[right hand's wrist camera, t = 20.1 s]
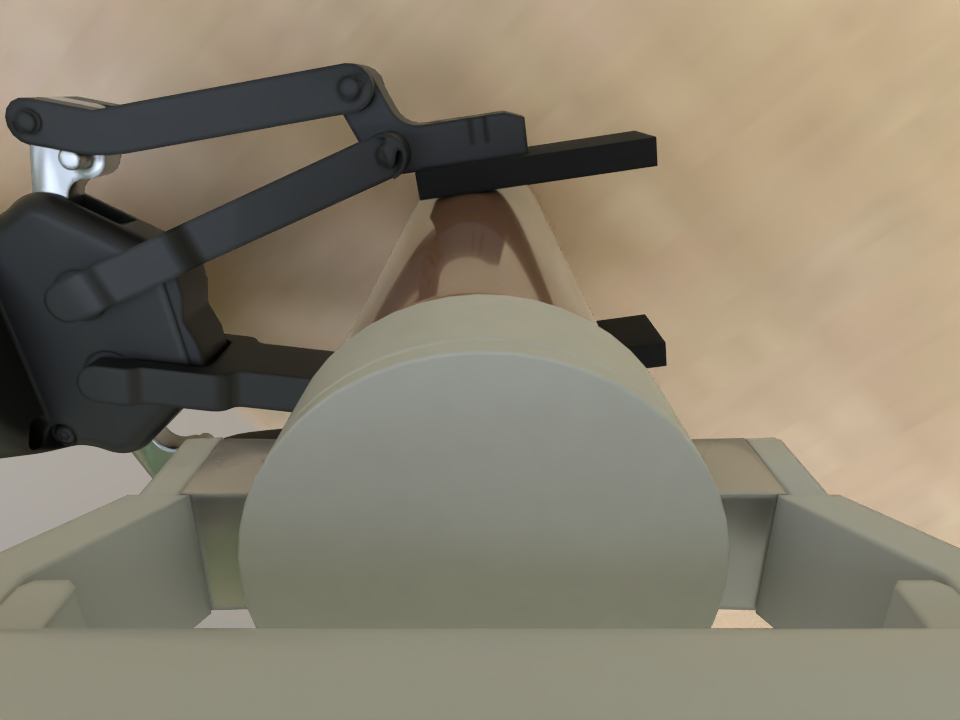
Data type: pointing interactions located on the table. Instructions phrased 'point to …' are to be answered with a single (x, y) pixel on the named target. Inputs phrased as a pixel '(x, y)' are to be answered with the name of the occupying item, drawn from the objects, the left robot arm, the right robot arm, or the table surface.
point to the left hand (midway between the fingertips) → (648, 248)
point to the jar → (475, 256)
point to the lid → (483, 483)
